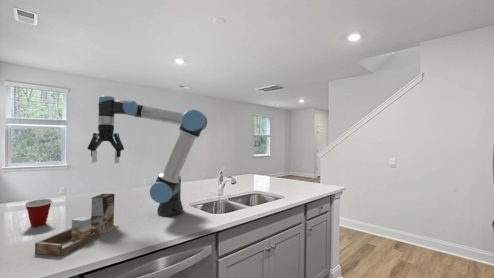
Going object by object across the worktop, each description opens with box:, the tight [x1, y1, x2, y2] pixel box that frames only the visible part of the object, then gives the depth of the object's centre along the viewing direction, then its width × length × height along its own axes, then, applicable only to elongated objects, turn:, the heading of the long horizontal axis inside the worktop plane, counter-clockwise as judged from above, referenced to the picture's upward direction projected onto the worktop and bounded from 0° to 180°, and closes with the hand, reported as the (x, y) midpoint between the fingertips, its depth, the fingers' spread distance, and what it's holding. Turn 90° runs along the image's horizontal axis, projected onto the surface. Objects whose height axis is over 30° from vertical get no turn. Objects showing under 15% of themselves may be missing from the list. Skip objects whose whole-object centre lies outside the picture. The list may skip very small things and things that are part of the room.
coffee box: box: [90, 193, 115, 231], centre depth 114 cm, size 9×6×16 cm
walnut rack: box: [34, 227, 100, 257], centre depth 97 cm, size 12×18×4 cm, turn 171°
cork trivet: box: [99, 224, 119, 234], centre depth 114 cm, size 10×9×1 cm
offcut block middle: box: [71, 225, 91, 235], centre depth 103 cm, size 6×4×3 cm, turn 80°
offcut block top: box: [71, 216, 91, 228], centre depth 103 cm, size 6×4×3 cm, turn 78°
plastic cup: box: [24, 198, 53, 228], centre depth 118 cm, size 11×11×12 cm
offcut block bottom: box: [70, 231, 91, 242], centre depth 103 cm, size 6×4×3 cm, turn 79°
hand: (105, 162), depth 127 cm, fingers open, 13 cm apart
